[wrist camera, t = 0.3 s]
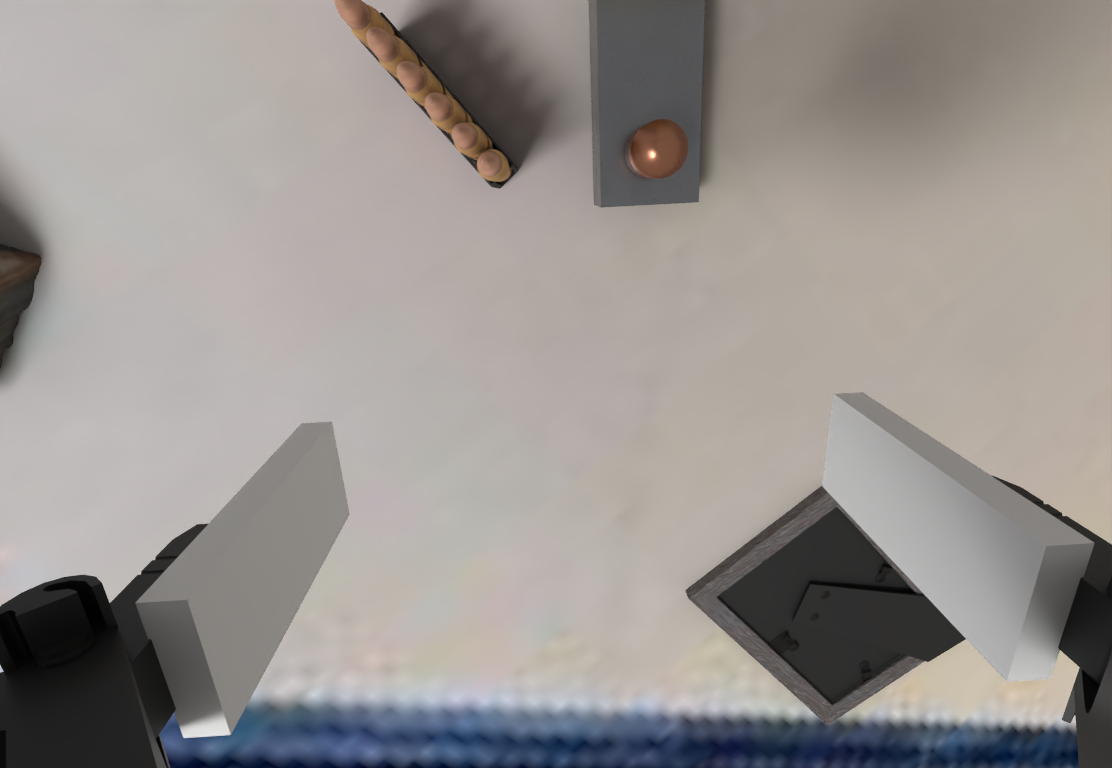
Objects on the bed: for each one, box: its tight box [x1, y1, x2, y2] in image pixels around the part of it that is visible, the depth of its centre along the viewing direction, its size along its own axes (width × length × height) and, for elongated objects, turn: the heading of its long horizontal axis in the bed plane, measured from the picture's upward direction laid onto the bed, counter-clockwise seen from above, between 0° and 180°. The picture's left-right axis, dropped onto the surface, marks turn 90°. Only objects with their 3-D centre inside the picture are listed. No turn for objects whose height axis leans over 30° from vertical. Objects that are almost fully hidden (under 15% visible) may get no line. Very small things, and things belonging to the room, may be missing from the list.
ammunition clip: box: [335, 0, 518, 188], centre depth 31 cm, size 11×2×12 cm, turn 42°
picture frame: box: [686, 486, 966, 725], centre depth 51 cm, size 16×2×21 cm
